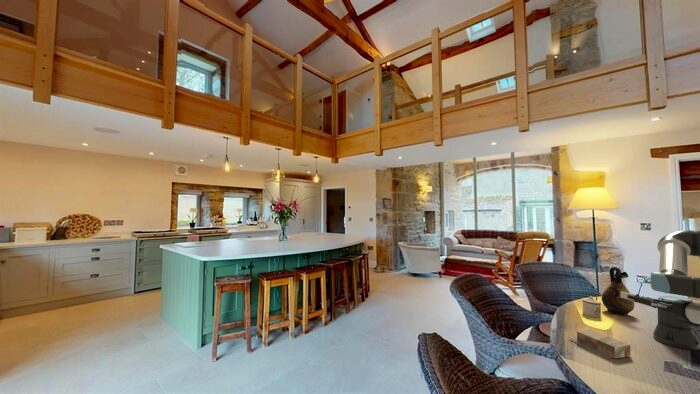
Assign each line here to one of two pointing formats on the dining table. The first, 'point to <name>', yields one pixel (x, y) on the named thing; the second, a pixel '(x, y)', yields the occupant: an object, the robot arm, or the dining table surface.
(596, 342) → the walnut slab
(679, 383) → the dining table surface
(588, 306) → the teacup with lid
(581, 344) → the slate mat
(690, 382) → the dining table surface
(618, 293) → the ceramic jug
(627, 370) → the dining table surface
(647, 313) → the dining table surface
